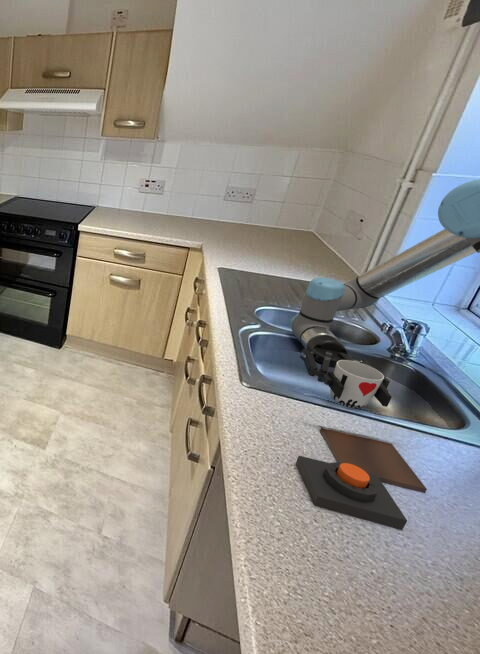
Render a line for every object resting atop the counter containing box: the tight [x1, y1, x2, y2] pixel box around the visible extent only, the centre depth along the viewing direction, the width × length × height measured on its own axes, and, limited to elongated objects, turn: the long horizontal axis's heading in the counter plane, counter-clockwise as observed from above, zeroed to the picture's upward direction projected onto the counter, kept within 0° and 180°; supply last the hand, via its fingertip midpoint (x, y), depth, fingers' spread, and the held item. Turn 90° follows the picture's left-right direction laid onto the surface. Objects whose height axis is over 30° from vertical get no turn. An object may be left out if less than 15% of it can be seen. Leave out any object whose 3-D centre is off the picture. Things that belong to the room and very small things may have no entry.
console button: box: [337, 463, 370, 489], centre depth 73 cm, size 4×4×2 cm
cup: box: [329, 360, 385, 410], centre depth 96 cm, size 8×8×10 cm
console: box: [295, 455, 408, 531], centre depth 73 cm, size 12×10×4 cm
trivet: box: [319, 427, 428, 494], centre depth 82 cm, size 12×12×1 cm
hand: (363, 396), depth 91 cm, fingers closed on cup, 8 cm apart
